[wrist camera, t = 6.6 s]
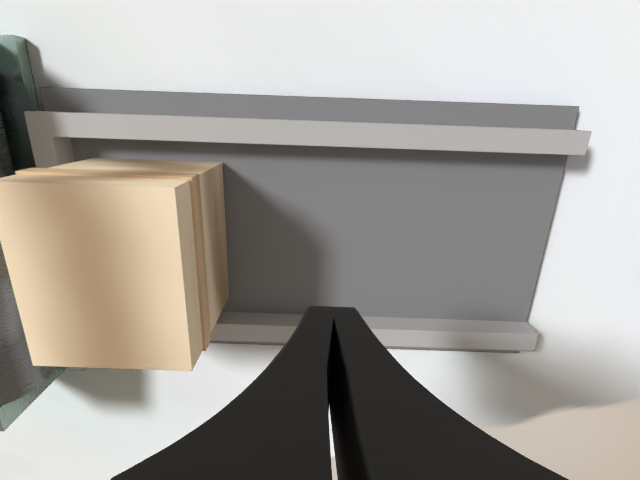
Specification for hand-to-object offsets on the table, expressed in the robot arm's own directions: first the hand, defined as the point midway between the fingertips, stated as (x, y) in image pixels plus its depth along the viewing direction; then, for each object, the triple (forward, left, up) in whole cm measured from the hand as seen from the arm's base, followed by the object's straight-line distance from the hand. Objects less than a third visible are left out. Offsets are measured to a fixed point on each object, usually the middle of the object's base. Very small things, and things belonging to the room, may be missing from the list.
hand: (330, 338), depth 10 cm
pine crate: (+8, 0, -9) cm, 12 cm away
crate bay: (+1, 0, -9) cm, 9 cm away
